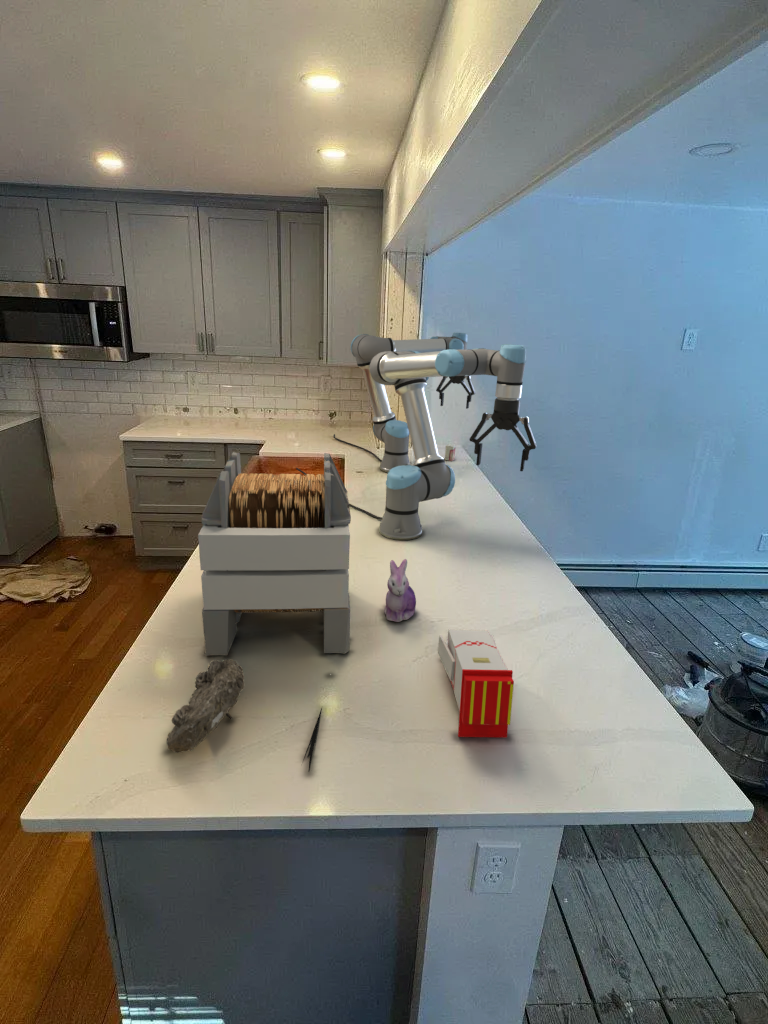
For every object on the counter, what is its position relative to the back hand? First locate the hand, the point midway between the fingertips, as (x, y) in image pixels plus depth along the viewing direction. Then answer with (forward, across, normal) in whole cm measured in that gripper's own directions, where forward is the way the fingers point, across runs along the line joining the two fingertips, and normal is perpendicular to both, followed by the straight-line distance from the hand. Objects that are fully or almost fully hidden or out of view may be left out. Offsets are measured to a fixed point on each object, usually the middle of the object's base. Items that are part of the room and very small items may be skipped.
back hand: (454, 407), depth 293 cm
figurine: (+28, -31, +165) cm, 170 cm away
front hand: (-2, -45, +115) cm, 124 cm away
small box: (+28, 0, 0) cm, 28 cm away
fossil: (+27, -12, +216) cm, 219 cm away
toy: (+28, -56, +188) cm, 198 cm away
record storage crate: (+27, -5, +179) cm, 182 cm away
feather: (+27, -31, +209) cm, 213 cm away
